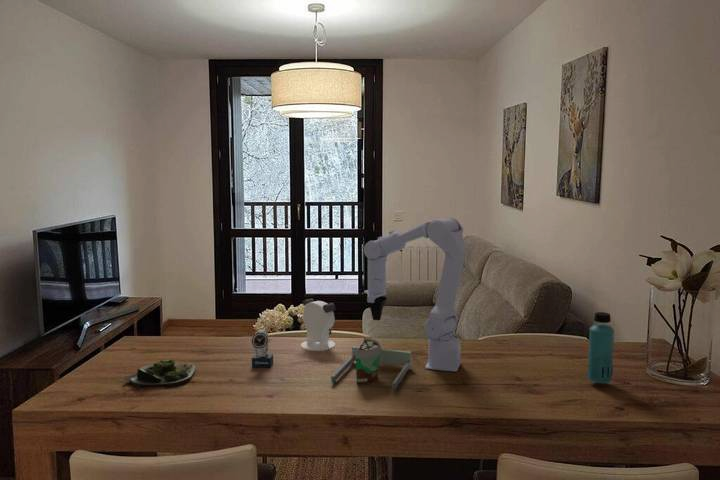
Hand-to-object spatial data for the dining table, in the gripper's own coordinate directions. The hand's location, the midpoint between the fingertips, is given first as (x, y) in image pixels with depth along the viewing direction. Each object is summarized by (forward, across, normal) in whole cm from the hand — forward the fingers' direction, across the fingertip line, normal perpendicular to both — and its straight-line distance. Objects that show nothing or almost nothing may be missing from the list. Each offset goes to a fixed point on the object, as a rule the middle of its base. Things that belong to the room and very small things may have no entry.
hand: (376, 319), depth 192 cm
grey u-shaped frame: (+10, +22, +5) cm, 25 cm away
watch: (+11, +23, -29) cm, 39 cm away
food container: (+11, +24, +5) cm, 27 cm away
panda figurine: (+11, 0, -20) cm, 23 cm away
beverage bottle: (+11, +10, +66) cm, 68 cm away
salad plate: (+11, +40, -52) cm, 67 cm away
